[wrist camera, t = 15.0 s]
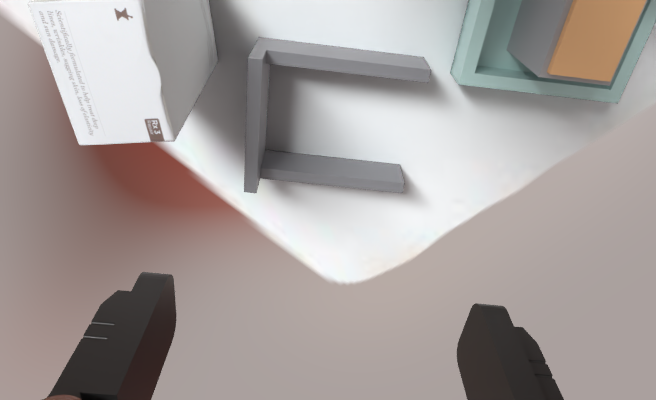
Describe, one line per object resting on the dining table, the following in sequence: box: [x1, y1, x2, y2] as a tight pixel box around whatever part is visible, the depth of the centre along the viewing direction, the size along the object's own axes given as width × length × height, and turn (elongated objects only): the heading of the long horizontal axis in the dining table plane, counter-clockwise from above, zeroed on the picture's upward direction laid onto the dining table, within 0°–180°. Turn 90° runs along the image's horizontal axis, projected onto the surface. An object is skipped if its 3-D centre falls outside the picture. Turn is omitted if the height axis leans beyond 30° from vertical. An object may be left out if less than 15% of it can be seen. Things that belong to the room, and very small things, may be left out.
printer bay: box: [244, 37, 431, 193], centre depth 39 cm, size 11×14×6 cm
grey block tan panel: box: [506, 0, 648, 86], centre depth 33 cm, size 6×5×8 cm
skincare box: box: [28, 0, 218, 145], centre depth 31 cm, size 8×6×15 cm
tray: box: [450, 0, 656, 103], centre depth 36 cm, size 11×13×3 cm
